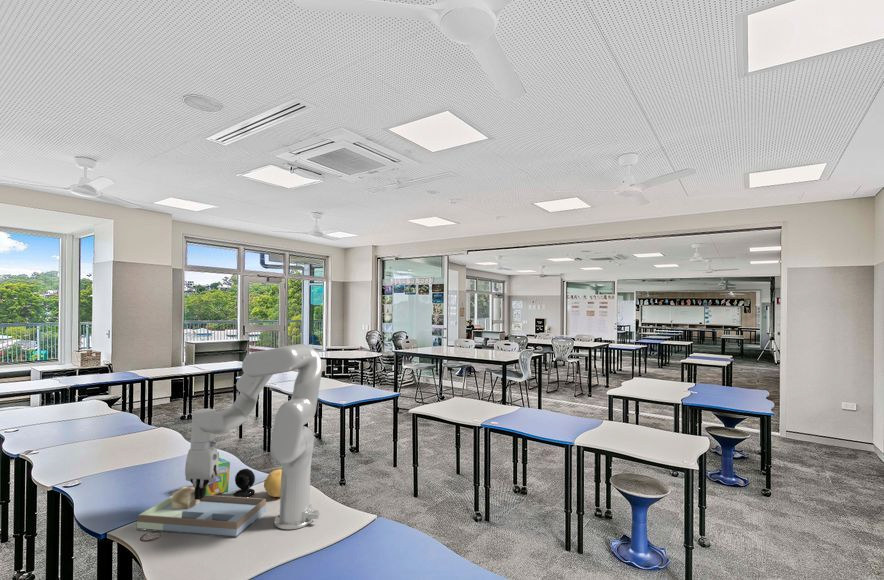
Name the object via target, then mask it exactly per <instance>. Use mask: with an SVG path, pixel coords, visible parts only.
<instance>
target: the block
mask: <svg viewBox="0 0 884 580" xmlns="http://www.w3.org/2000/svg"><path fill="white" fill-rule="evenodd" d="M194 494H195V488H194V487H193V486H183V487H182V488H179V489H178V490H176V491H174V492H173V493H172V495H173V497H172V508H176V509H189V508H191V507H192V506H194V505H195V504H197V503H199V502H200V500H198V499H197V500H195V495H194Z"/></svg>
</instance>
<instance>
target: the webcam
mask: <svg viewBox="0 0 884 580" xmlns="http://www.w3.org/2000/svg"><path fill="white" fill-rule="evenodd" d="M255 475H256V474H255V473H254V472H253V470H251V469H250V468H242V469H239V471H238V472H236V474H235V476H234V481H235V485H236V487H237V488H238V490H236V491H235V492H234V493H233V497H246V498H247V497H249V498H251V497H253V496H254V495H255V493H256V491H255V490H254V489H253V488H252V487H253V485H254V483H255V482H256V476H255ZM249 492H251V493H249ZM252 495H253V496H252ZM250 496H251V497H250Z"/></svg>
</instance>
